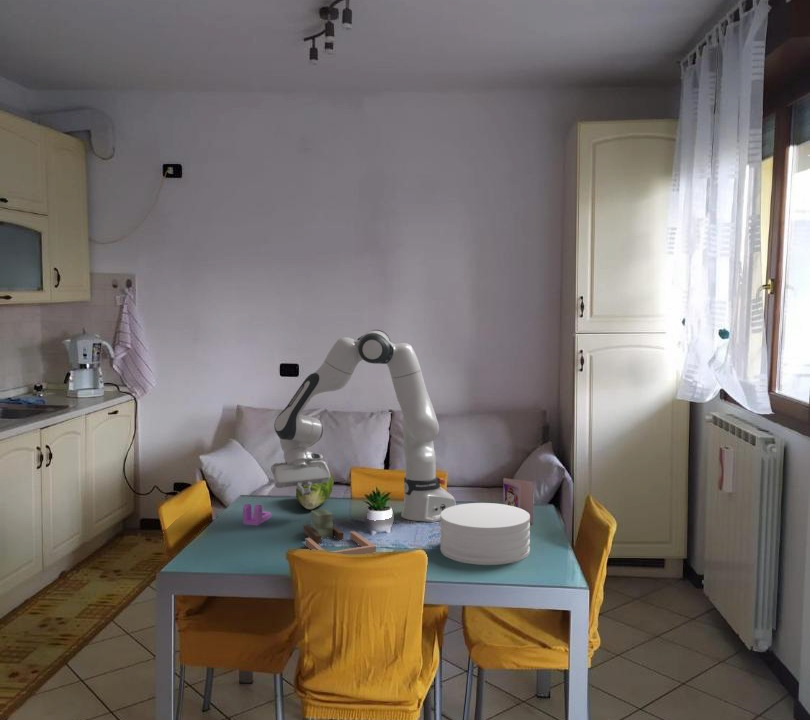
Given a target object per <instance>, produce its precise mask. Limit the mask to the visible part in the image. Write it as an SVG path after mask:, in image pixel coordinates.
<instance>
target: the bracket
mask: <svg viewBox="0 0 810 720" xmlns="http://www.w3.org/2000/svg"><path fill="white" fill-rule="evenodd" d="M270 518H272V513H271V512H270V511H263V506H262V504H255V506H254V508H253V514H252V505H251V504H250V503H245V504H244V505H243V507H242V519H243V523H242V524H243V525H244V524H245V525H246V526H260V525H261V524H262V523H264V522H265V521H267V520H269V519H270Z"/></svg>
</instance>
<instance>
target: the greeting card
mask: <svg viewBox="0 0 810 720" xmlns="http://www.w3.org/2000/svg"><path fill="white" fill-rule="evenodd" d="M502 484H503V485H502V486H503V487H502V489H503V494H502V495H503V497H502V498H503V499H502V500H503V503H502V504H504V505H510V506H514V507H518V508H520V509H523V510H525V511H526V512H528V513H529V515H530V522H529V523H530V525H531V524H532V525H533V524H534V481H529V480H522V479H515V478H514V479H513V478H505V477H503V483H502Z"/></svg>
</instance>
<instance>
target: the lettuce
mask: <svg viewBox="0 0 810 720" xmlns="http://www.w3.org/2000/svg"><path fill="white" fill-rule="evenodd" d="M330 475H331V476H330V479H329V481H328V482H327V483H319V484H312V485H311V488H310V490H311V494H310V495H302V493H301V491H299V490H298V489H297V487H296V488H295V489H296V490H295V491H296V492H295V497H296V500H297V501H298V503H299V504H300V505H301V506H302V507H303V508H305V509H306V510H315V509H316V508H318V507H320V506H321V505H322V504H324V503H326V501H327V500H328V499H329V498H330V497H331V494H332V492H333V487H334V484H335V483H334V477H333V475H332V473H331V472H330ZM301 486H302V487H303V488H304V489H307V488H308V487H307V486H306V485H301Z"/></svg>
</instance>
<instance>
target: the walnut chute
mask: <svg viewBox="0 0 810 720" xmlns="http://www.w3.org/2000/svg"><path fill="white" fill-rule="evenodd" d="M302 529H303V530H302V532H303V534H304V535H306V536H307V538H311V539H312V540H313V541H314V542H316V543H317V544H318V545H320V544H319V543H321V544H322V539H321V535H319V534H318V533H317V532H316V531H315V530H313V529H312V526H310V525H308V524H303V525H302ZM334 536H335V537H336V538H338V539H339V540H342V539H344V537H345V536H344V532H343V531H342V530H341V529H339V528H338V527H336V526H335V525H334V524H333V537H334ZM335 537H334V538H335ZM336 538H335V539H336ZM338 539H337V540H338ZM339 540H338V541H339ZM342 541H343V540H342Z"/></svg>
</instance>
